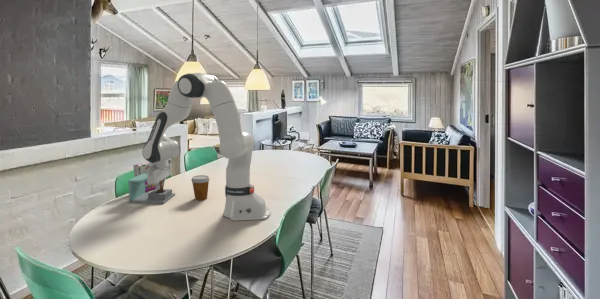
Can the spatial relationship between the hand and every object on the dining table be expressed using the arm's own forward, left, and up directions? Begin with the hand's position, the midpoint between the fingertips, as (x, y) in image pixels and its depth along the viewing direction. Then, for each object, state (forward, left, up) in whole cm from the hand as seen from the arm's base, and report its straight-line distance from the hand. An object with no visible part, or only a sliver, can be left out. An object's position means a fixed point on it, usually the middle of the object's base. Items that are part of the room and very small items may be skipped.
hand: (160, 188), depth 171 cm
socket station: (+4, 0, -6) cm, 7 cm away
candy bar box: (+15, -14, -6) cm, 22 cm away
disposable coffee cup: (-21, -3, -6) cm, 22 cm away
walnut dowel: (0, 0, -4) cm, 4 cm away
